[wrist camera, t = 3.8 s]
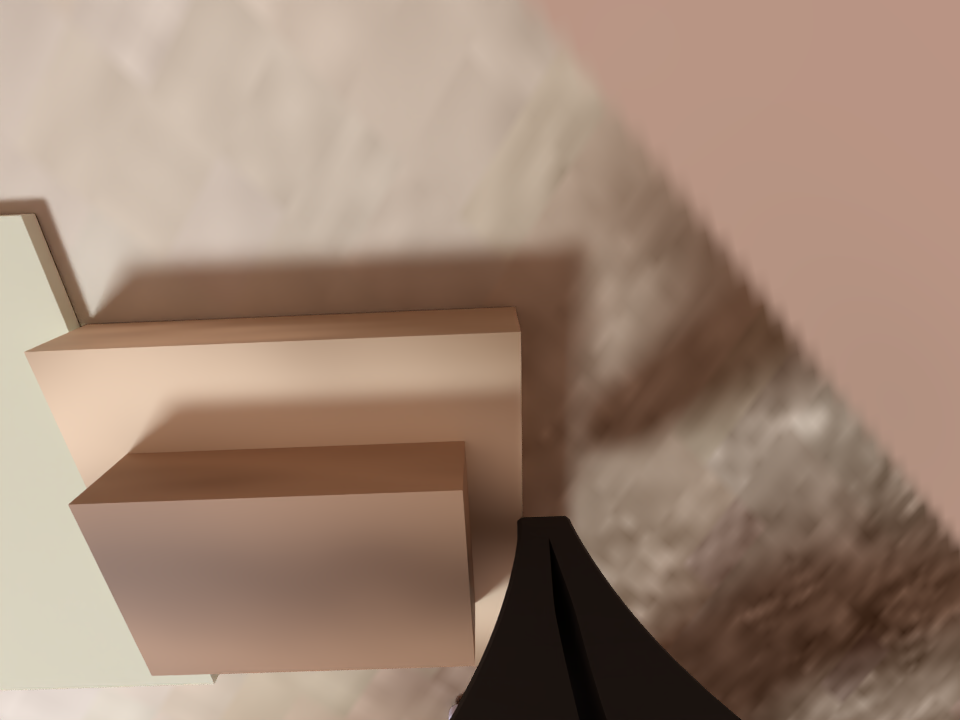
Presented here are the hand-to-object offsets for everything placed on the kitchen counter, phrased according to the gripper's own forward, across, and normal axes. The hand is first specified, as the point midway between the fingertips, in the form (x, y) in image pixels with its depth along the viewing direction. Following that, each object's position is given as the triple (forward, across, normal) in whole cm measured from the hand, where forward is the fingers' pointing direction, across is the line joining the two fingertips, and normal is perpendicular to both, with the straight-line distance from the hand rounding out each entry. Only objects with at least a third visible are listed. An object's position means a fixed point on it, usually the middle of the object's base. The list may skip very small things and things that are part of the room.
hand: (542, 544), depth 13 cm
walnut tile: (+1, +6, 0) cm, 7 cm away
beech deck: (+3, +6, 0) cm, 7 cm away
